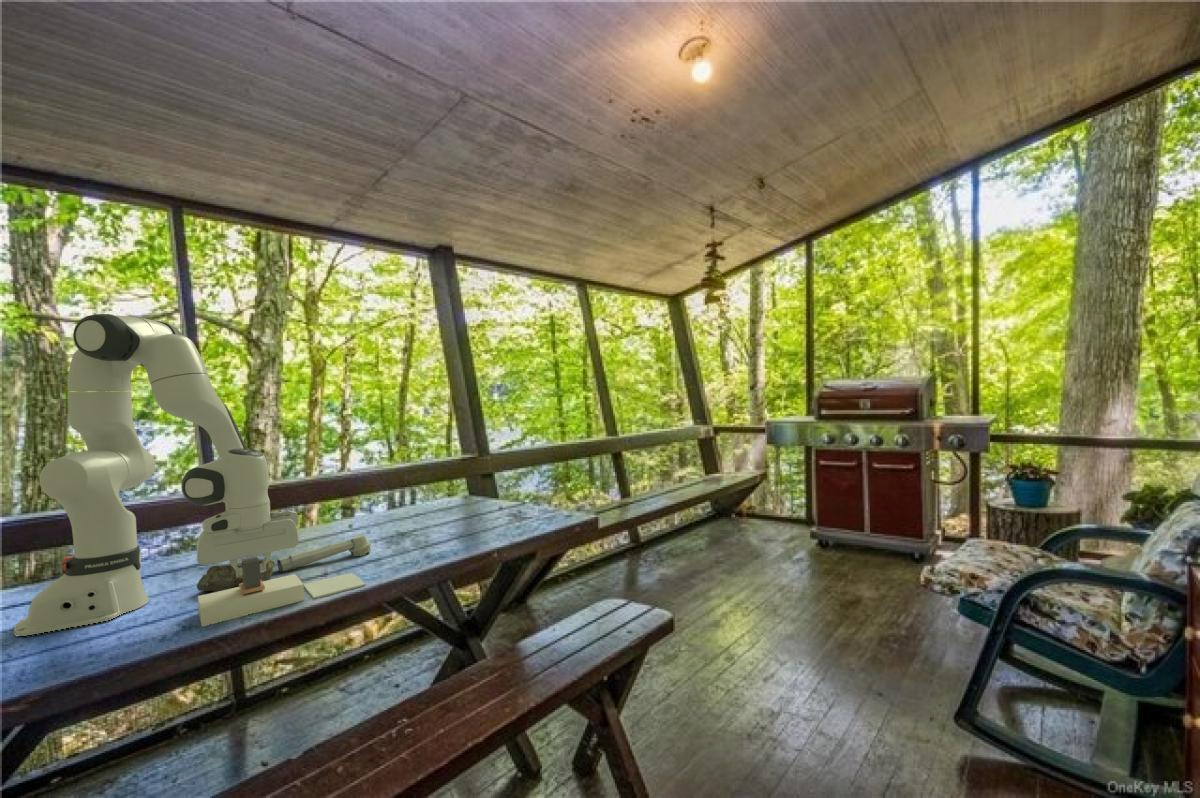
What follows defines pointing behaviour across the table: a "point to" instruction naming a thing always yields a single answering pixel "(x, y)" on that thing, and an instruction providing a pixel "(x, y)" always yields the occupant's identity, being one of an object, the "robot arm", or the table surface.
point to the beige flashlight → (325, 553)
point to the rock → (228, 577)
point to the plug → (251, 576)
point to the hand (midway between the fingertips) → (251, 574)
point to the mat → (333, 585)
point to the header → (249, 600)
